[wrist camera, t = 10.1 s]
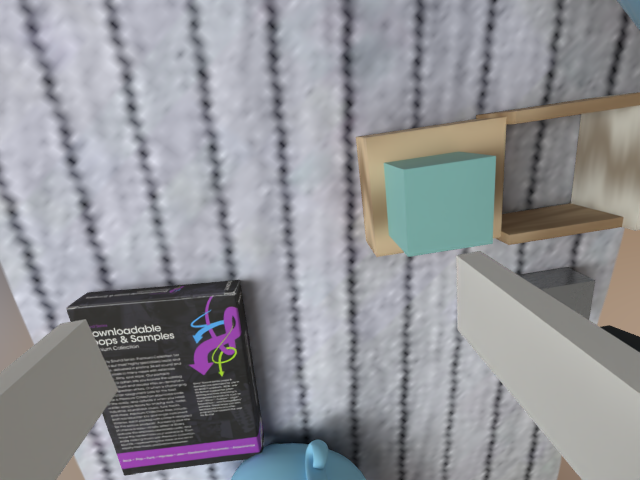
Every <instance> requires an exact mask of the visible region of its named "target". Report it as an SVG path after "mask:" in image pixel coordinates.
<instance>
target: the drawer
mask: <svg viewBox="0 0 640 480" xmlns="http://www.w3.org/2000/svg"><path fill="white" fill-rule="evenodd" d="M578 114H581V120H580V128H579V137H578V145H577V154H576V162H575V171H574V179H573V188H572V196H571V203H569V204H563V205H557V206H550V207H544V208H537V209H531V210H525V211H518V212H512V213H506V214H502V202H503V181H504V160H505V138H506V124H518V123H525V122H532V121H538V120H545V119H552V118H558V117H565V116H572V115H578ZM356 143H357V153H358V163H359V173H360V183H361V194H362V204H363V214H364V224H365V234H366V241H367V243H368V244H369V246H370V247H371V249H372V250H373V252H374V253H375V255H376V257H379V256H386V255H392V254H398V253H404V251H403V250H402V249H401V248H400V247H399V246H398V245H397V244H396V243H395V242H394V240H393V239H392V238H391V237H390V236H389V230H388V216H387V202H386V188H385V174H384V163H386V162H393V161H399V160H406V159H413V158H419V157H426V156H433V155H439V154H446V153H453V152H467V153H475V154H484V155H492V156H496V169H495V194H494V219H493V238H496V239H498V240H500V241H502V242H504V243H506V244H508V245H511V244H518V243H524V242H530V241H536V240H543V239H549V238H555V237H562V236H568V235H574V234H580V233H587V232H593V231H599V230H605V229H612V228H618V227H624V228H628V229H631V230H635V231H636V230H640V92H637V93H628V94H620V95H611V96H603V97H595V98H588V99H581V100H575V101H568V102H561V103H555V104H548V105H541V106H535V107H528V108H521V109H514V110H508V111H501V112H494V113H488V114H481V115H476V119H473V120H467V121H460V122H453V123H447V124H440V125H433V126H426V127H420V128H413V129H406V130H400V131H393V132H386V133H380V134H373V135H366V136H359V137H356Z"/></svg>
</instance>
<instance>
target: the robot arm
mask: <svg viewBox="0 0 640 480" xmlns="http://www.w3.org/2000/svg"><path fill="white" fill-rule="evenodd" d="M617 1H618V3H619V4H620V5H621V6H622V8H623V9H624V10H625V12H626V13H627V14H628V16H629V17H630V18H631V20H632V21H633V22H634V24H635V25H636V26H637V28H638V29H639V30H640V0H617ZM456 262H457V325H458V331H459V332H460V333H461V334H462V335H463V337H464V338H465V339H466V340H467V341H468V343H469V344H470V345H471V346H472V347H473V349H474V350H475V351H476V352H477V354H478V355H479V356H480V357H481V358H482V360H483V361H484V362H485V363H486V364H487V366H488V367H489V368H490V369H491V370H492V372H493V373H494V374H495V375H496V376H497V378H498V379H499V380H500V381H501V382H502V384H503V385H504V386H505V387H506V389H507V390H508V391H509V392H510V393H511V395H512V396H513V397H514V398H515V399H516V401H517V402H518V403H519V404H520V405H521V407H522V408H523V409H524V410H525V411H526V413H527V414H528V415H529V416H530V417H531V419H532V420H533V421H534V422H535V424H536V425H537V426H538V427H539V428H540V430H541V431H542V432H543V433H544V434H545V436H546V437H547V438H548V439H549V440H550V442H551V443H552V444H553V445H554V446H555V448H556V449H557V450H558V451H559V452H560V454H561V455H562V456H563V457H564V458H565V460H566V461H567V462H568V463H569V465H570V466H571V467H572V468H573V469H574V471H575V472H576V473H577V474H578V475H579V476H580V478H581V479H582V480H640V337H639V336H636V335H634V334H631V333H628V332H625V331H623V330H620V329H618V328H615V327H612V326H603V327H599V326H597V325H596V324H594V323H593V322H591V321H589V320H588V319H586V318H585V317H583V316H582V315H580V314H578V313H577V312H575V311H574V310H572V309H570V308H569V307H567V306H566V305H564V304H563V303H561V302H559V301H558V300H556V299H555V298H553V297H552V296H550V295H548V294H547V293H545V292H544V291H542V290H541V289H539V288H537V287H536V286H534V285H533V284H531V283H530V282H528V281H526V280H525V279H523V278H522V277H520V276H519V275H517V274H515V273H514V272H512V271H511V270H509V269H508V268H506V267H504V266H503V265H501V264H500V263H498V262H497V261H495V260H493V259H492V258H490V257H489V256H487V255H486V254H484V253H482V252H481V251H478V252H472V253H466V254H460V255H456ZM117 391H118V389H117V387H116V384H115V382H114V380H113V378H112V376H111V373H110V371H109V369H108V367H107V365H106V362H105V360H104V358H103V356H102V354H101V351H100V349H99V347H98V345H97V343H96V340H95V338H94V336H93V334H92V332H91V329H90V327H89V325H88V323H87V321H86V319H85V320H79V321H73V322H67V323H62V324H60V325H59V326H57V327H56V328H55V329H54V330H52V331H51V332H50V333H49V334H47V335H46V336H45V337H44V338H43V339H41V340H40V341H39V342H38V343H36V344H35V345H34V346H33V347H31V348H30V349H29V350H28V351H27V352H25V353H24V354H23V355H22V356H20V357H19V358H18V359H17V360H15V361H14V362H13V363H12V364H11V365H9V366H8V367H7V368H6V369H4V370H3V371H2V372H1V373H0V480H56V479H57V478H58V476H59V475H60V474H61V472H62V471H63V469H64V468H65V466H66V465H67V463H68V462H69V460H70V459H71V458H72V456H73V455H74V453H75V452H76V450H77V449H78V447H79V446H80V444H81V443H82V442H83V440H84V439H85V437H86V436H87V434H88V433H89V431H90V430H91V428H92V427H93V426H94V424H95V423H96V421H97V420H98V418H99V417H100V415H101V414H102V413H103V411H104V410H105V408H106V407H107V405H108V404H109V402H110V401H111V399H112V398H113V397H114V395H115V394H116V392H117Z"/></svg>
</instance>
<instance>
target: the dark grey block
mask: <svg viewBox="0 0 640 480" xmlns="http://www.w3.org/2000/svg"><path fill="white" fill-rule="evenodd" d="M519 276H520V277H522V278H523V279H525V280H526V281H528V282H530V283H531V284H533V285H534V286H536V287H537V288H539V289H541V290H542V291H544V292H545V293H547V294H548V295H550V296H552V297H553V298H555V299H556V300H558V301H559V302H561V303H563V304H564V305H566V306H567V307H569V308H570V309H572V310H574V311H575V312H577V313H578V314H580V315H582V316H583V317H585V318H586V319H588V320H589V316H590V310H591V303H592V297H593V291H594V284H595V280H593V279H591V278H589V277H587V276H585V275H583V274H581V273H579V272H577V271H575V270H573V269H571V268H569V267H566V268H560V269H553V270H547V271H541V272H535V273H529V274H522V275H519Z"/></svg>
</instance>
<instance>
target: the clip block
mask: <svg viewBox="0 0 640 480" xmlns="http://www.w3.org/2000/svg"><path fill="white" fill-rule="evenodd" d="M495 169H496V156H492V155H484V154H475V153H467V152H453V153H446V154H439V155H433V156H426V157H419V158H413V159H406V160H399V161H393V162H386V163H384V174H385V188H386V202H387V216H388V230H389V236H390V237H391V238H392V239H393V240H394V242H395V243H396V244H397V245H398V246H399V247H400V248H401V249H402V250H403V251H404V253H405V254H406V255H407V256H408V257H410V256H416V255H423V254H429V253H435V252H442V251H448V250H454V249H461V248H467V247H474V246H480V245H486V244H492V243H493V219H494V194H495Z"/></svg>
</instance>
